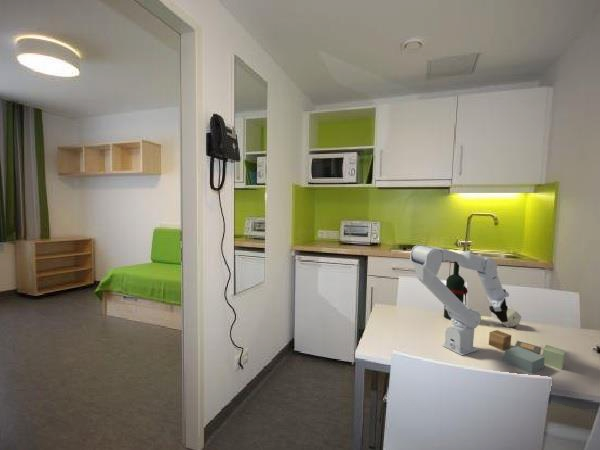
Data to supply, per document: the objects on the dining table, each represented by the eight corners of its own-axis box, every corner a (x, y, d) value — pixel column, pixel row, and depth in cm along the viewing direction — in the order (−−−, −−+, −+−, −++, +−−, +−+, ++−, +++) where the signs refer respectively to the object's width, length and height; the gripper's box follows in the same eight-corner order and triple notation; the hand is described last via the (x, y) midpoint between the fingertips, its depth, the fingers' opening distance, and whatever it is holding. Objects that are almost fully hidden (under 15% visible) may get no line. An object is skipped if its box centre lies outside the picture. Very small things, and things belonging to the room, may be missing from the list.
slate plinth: (531, 374, 93) (532, 362, 92) (503, 362, 100) (504, 350, 99) (543, 368, 96) (544, 356, 96) (516, 356, 104) (517, 346, 103)
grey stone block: (493, 326, 131) (507, 314, 125) (492, 311, 138) (505, 299, 131) (512, 334, 130) (527, 323, 123) (510, 319, 136) (524, 308, 130)
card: (538, 354, 105) (538, 352, 105) (514, 347, 110) (514, 346, 110) (540, 347, 110) (540, 346, 110) (517, 341, 115) (517, 340, 115)
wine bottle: (469, 323, 132) (474, 257, 130) (445, 319, 135) (449, 255, 133) (465, 316, 140) (470, 254, 137) (442, 313, 143) (446, 252, 140)
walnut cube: (502, 350, 107) (503, 337, 107) (488, 344, 112) (489, 332, 111) (510, 348, 110) (511, 335, 109) (496, 342, 114) (497, 329, 114)
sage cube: (561, 369, 96) (563, 355, 95) (542, 363, 99) (543, 349, 99) (563, 364, 99) (565, 350, 99) (544, 358, 103) (546, 344, 102)
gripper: (505, 295, 101) (518, 327, 104) (503, 272, 113) (514, 301, 115) (482, 297, 106) (495, 327, 108) (482, 275, 117) (494, 303, 119)
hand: (503, 314), depth 112 cm, fingers open, 7 cm apart
